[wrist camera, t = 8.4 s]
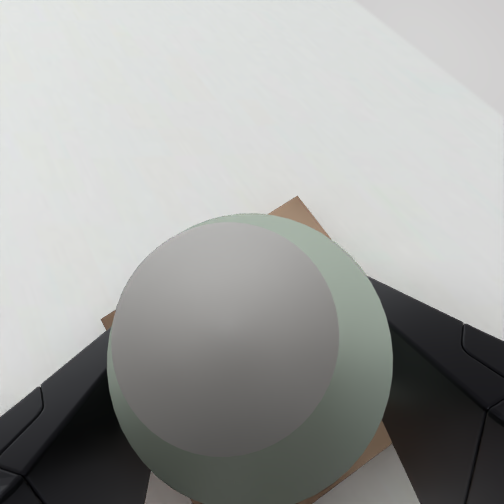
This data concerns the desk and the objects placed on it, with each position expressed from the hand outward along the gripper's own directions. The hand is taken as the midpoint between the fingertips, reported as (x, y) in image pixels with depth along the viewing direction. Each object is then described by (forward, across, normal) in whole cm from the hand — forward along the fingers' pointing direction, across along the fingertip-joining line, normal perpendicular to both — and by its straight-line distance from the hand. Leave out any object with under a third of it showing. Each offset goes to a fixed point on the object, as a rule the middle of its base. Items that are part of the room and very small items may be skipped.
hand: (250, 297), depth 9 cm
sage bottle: (+4, 0, +6) cm, 7 cm away
